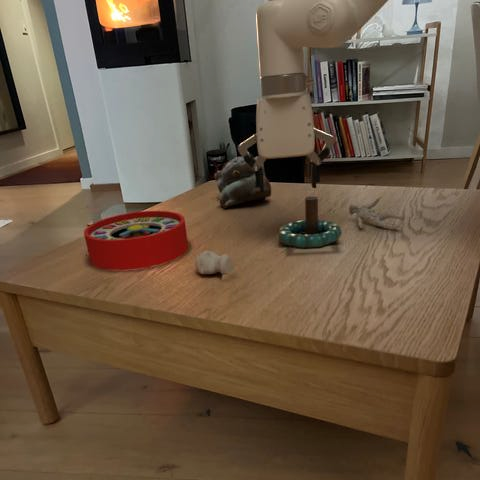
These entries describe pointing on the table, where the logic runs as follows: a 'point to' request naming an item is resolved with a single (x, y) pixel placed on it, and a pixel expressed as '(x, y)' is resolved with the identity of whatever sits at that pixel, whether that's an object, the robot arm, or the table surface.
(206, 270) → the pale two-lobed sculpture
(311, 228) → the stand
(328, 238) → the bracelet
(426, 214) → the table surface
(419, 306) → the table surface
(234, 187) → the grey stacked animal sculpture
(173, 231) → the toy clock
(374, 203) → the soldier figure
